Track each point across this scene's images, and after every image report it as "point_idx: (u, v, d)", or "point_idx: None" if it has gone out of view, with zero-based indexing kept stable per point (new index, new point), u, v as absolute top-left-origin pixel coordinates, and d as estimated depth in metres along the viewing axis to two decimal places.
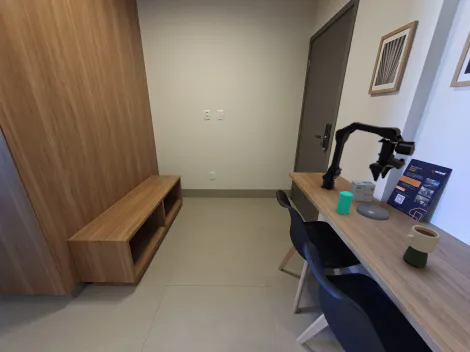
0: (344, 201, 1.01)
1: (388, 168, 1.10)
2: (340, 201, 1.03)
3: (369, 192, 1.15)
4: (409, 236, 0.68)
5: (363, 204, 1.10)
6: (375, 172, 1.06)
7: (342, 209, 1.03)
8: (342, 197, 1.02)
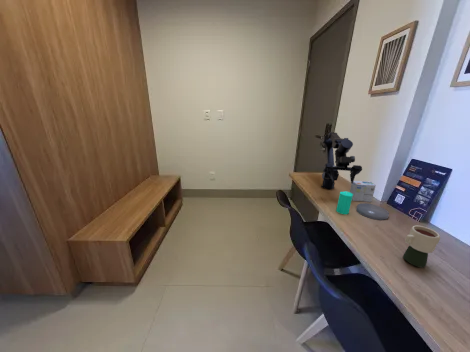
0: (344, 201, 1.01)
1: (352, 172, 1.09)
2: (340, 201, 1.03)
3: (369, 192, 1.15)
4: (409, 236, 0.68)
5: (363, 204, 1.10)
6: (330, 173, 1.12)
7: (342, 209, 1.03)
8: (342, 197, 1.02)
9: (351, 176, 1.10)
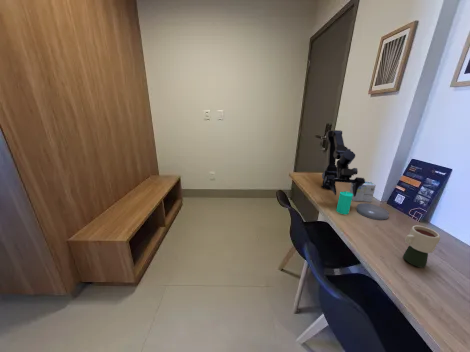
0: (344, 201, 1.01)
1: (355, 184, 1.05)
2: (340, 201, 1.03)
3: (369, 192, 1.15)
4: (409, 236, 0.68)
5: (363, 204, 1.10)
6: (332, 186, 1.08)
7: (342, 209, 1.03)
8: (342, 197, 1.02)
9: (353, 189, 1.05)
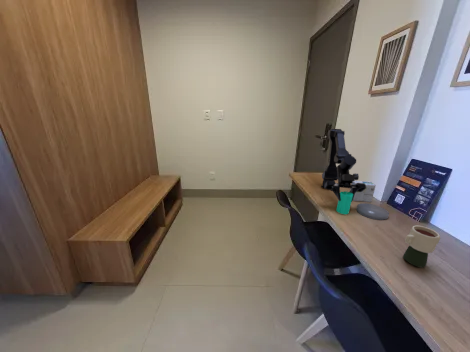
0: (344, 201, 1.01)
1: (352, 190, 1.03)
2: (340, 201, 1.03)
3: (369, 192, 1.15)
4: (409, 236, 0.68)
5: (363, 204, 1.10)
6: (336, 191, 1.06)
7: (342, 209, 1.03)
8: (342, 197, 1.02)
9: None
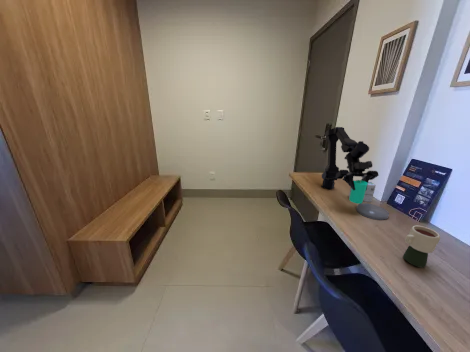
0: (359, 190, 0.98)
1: (365, 178, 1.01)
2: (355, 190, 0.99)
3: (369, 192, 1.15)
4: (409, 236, 0.68)
5: (363, 204, 1.10)
6: (349, 181, 1.02)
7: (357, 198, 0.99)
8: (356, 186, 0.98)
9: None
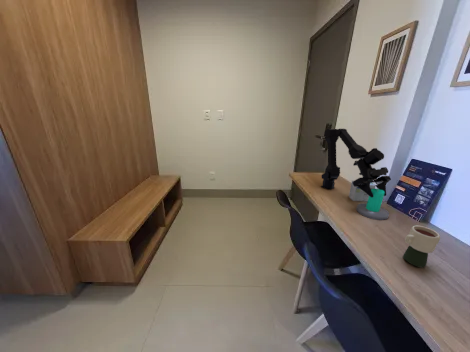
0: (378, 199, 1.00)
1: (382, 183, 1.03)
2: (373, 199, 1.01)
3: None
4: (409, 236, 0.68)
5: (363, 204, 1.10)
6: (365, 188, 1.02)
7: (376, 207, 1.01)
8: (375, 195, 1.00)
9: (380, 188, 1.04)
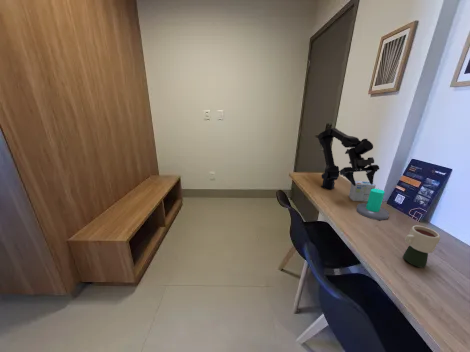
0: (378, 199, 1.00)
1: (370, 172, 1.07)
2: (373, 199, 1.01)
3: (369, 192, 1.15)
4: (409, 236, 0.68)
5: (363, 204, 1.10)
6: (349, 177, 1.09)
7: (376, 207, 1.01)
8: (375, 195, 1.00)
9: (369, 176, 1.08)
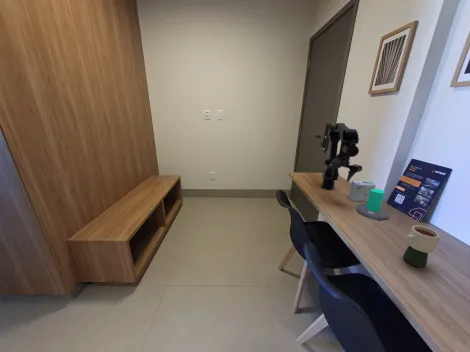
0: (378, 199, 1.00)
1: None
2: (373, 199, 1.01)
3: (369, 192, 1.15)
4: (409, 236, 0.68)
5: (363, 204, 1.10)
6: None
7: (376, 207, 1.01)
8: (375, 195, 1.00)
9: None
